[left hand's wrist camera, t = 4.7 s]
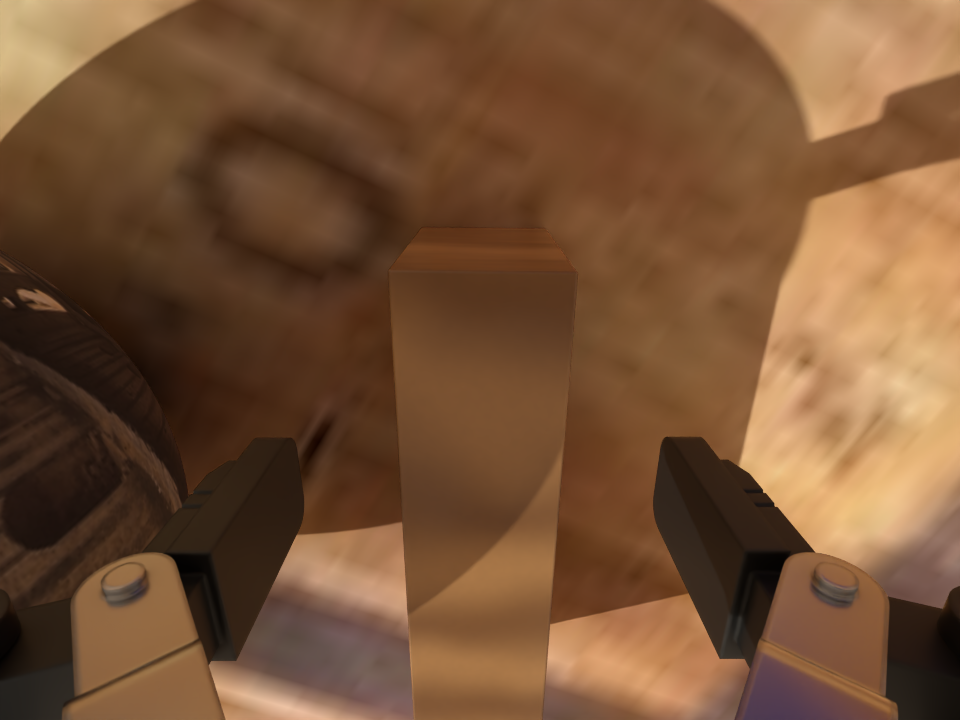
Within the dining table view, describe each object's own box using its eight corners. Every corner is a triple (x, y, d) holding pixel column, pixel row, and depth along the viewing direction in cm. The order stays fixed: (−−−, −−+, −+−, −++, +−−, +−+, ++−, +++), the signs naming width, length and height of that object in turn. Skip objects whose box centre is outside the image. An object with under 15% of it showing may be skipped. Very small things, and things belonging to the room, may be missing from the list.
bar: (421, 226, 23) (387, 270, 15) (546, 228, 23) (578, 272, 15) (434, 629, 32) (417, 790, 24) (524, 631, 32) (536, 791, 24)
